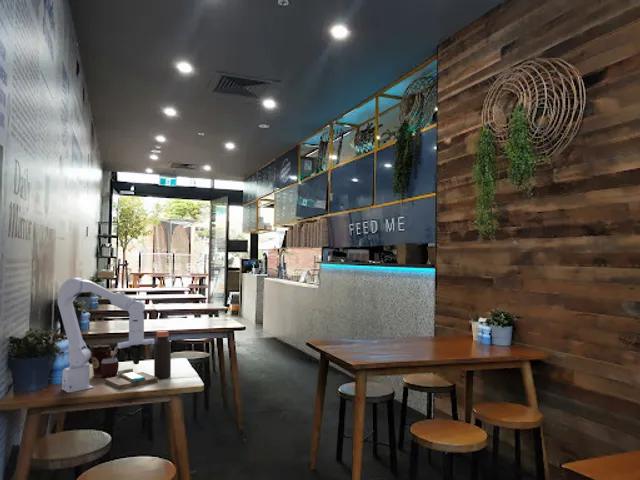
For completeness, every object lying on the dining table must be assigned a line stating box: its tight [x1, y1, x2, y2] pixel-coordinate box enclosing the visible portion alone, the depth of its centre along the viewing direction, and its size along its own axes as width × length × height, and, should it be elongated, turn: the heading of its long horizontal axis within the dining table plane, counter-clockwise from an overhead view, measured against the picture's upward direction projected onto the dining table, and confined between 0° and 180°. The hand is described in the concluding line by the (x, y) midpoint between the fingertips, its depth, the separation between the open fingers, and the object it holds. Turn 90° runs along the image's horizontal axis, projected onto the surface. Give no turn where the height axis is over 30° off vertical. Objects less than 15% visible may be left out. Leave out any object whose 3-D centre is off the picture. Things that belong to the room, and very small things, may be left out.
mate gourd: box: [101, 344, 120, 379], centre depth 211 cm, size 8×8×15 cm
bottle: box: [153, 329, 172, 380], centre depth 209 cm, size 7×7×20 cm
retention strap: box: [121, 371, 145, 382], centre depth 200 cm, size 5×12×1 cm, turn 45°
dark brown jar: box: [89, 344, 113, 378], centre depth 214 cm, size 9×8×13 cm
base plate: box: [104, 367, 159, 391], centre depth 201 cm, size 16×14×4 cm
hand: (136, 363), depth 198 cm, fingers closed
